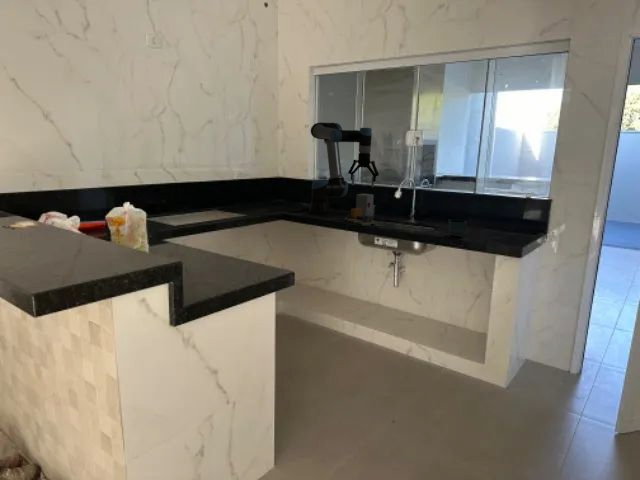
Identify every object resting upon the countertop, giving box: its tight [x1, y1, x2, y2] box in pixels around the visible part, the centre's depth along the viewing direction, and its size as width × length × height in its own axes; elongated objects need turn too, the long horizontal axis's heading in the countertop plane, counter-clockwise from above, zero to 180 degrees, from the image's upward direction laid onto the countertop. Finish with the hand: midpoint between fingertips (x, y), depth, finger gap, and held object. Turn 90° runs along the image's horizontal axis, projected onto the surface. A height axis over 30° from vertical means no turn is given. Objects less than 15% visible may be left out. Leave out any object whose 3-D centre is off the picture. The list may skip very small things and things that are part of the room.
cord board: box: [344, 213, 379, 227], centre depth 291 cm, size 20×12×5 cm, turn 32°
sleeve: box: [350, 207, 362, 219], centre depth 295 cm, size 4×6×6 cm, turn 122°
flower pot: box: [448, 219, 468, 236], centre depth 255 cm, size 9×9×9 cm
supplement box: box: [355, 193, 374, 218], centre depth 313 cm, size 9×9×15 cm
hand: (362, 185), depth 292 cm, fingers open, 13 cm apart
